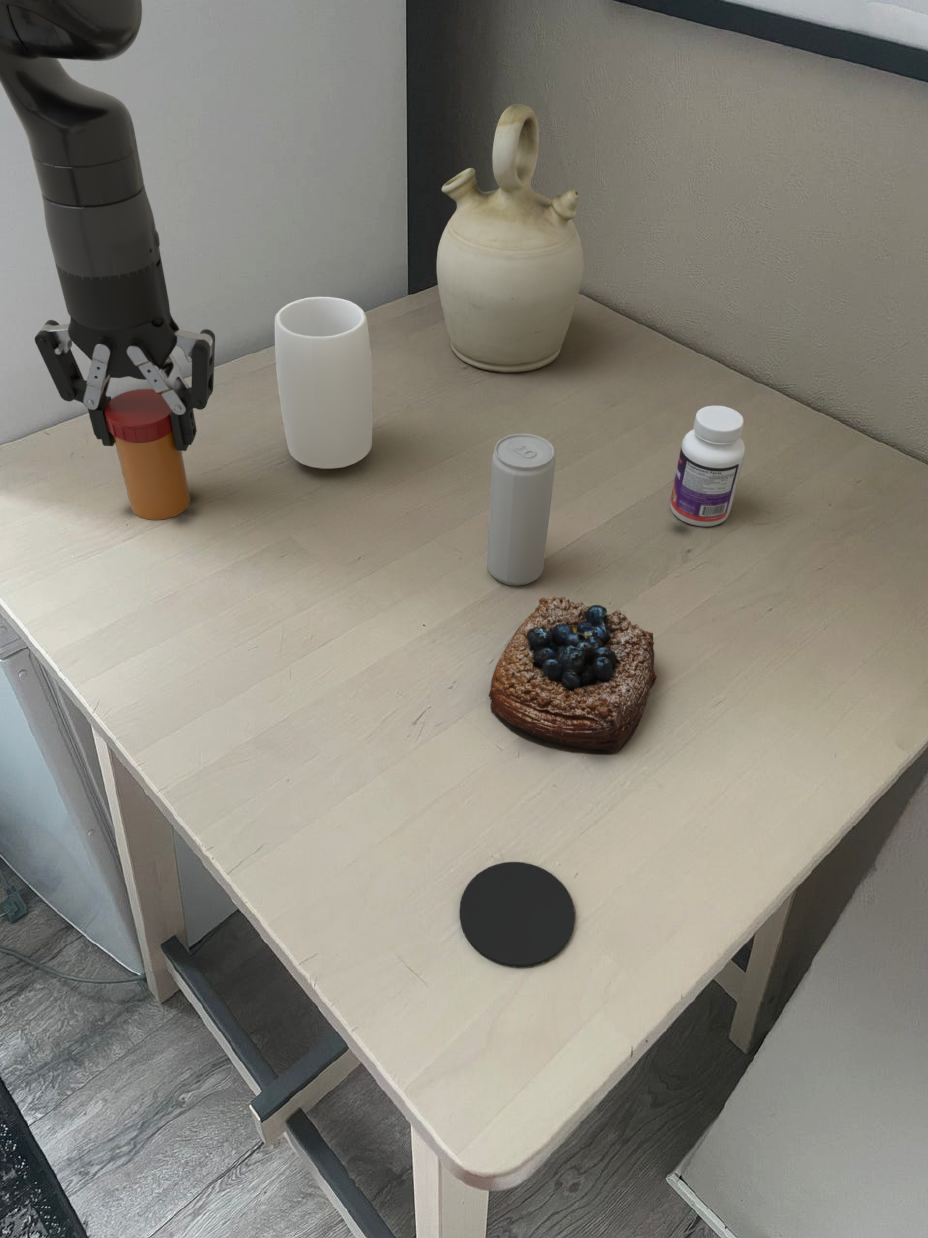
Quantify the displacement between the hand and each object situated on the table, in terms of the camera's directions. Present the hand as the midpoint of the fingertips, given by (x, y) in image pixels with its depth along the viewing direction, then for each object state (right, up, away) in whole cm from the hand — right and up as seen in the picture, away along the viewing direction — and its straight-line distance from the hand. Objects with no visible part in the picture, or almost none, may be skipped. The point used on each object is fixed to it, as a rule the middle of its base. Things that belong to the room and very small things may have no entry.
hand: (148, 442), depth 87 cm
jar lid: (0, +2, -2) cm, 3 cm away
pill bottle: (+48, -5, +6) cm, 49 cm away
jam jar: (0, -5, +4) cm, 6 cm away
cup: (+14, 0, +10) cm, 18 cm away
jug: (+31, +15, +27) cm, 44 cm away
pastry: (+35, -20, -11) cm, 42 cm away
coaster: (+30, -33, -25) cm, 51 cm away
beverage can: (+31, -11, -1) cm, 33 cm away
